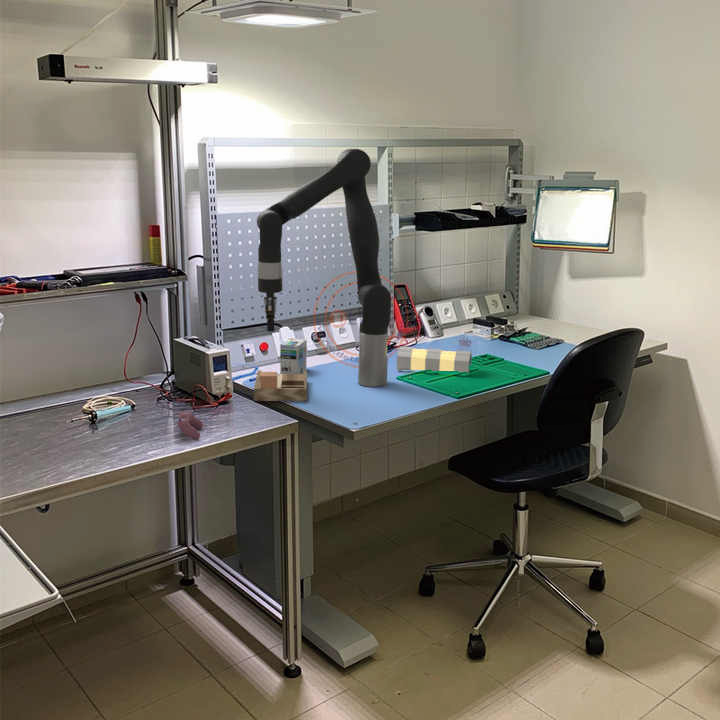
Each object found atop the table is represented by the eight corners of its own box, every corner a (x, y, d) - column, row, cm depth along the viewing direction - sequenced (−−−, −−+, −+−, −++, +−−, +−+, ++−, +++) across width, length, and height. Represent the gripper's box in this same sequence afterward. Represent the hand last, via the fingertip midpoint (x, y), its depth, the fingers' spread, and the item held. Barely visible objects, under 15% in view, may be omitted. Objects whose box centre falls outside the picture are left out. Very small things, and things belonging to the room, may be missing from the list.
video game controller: (189, 433, 219) (177, 411, 218) (204, 425, 219) (192, 403, 217) (185, 445, 210) (172, 422, 208) (201, 438, 210) (188, 415, 208)
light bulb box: (298, 376, 272) (298, 345, 270) (279, 375, 273) (279, 344, 271) (307, 369, 282) (307, 339, 280) (288, 367, 284) (288, 337, 281)
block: (277, 387, 250) (277, 371, 249) (276, 392, 245) (276, 376, 244) (261, 387, 250) (260, 371, 248) (260, 391, 245) (260, 375, 243)
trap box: (306, 381, 267) (306, 370, 266) (306, 400, 245) (307, 389, 244) (257, 381, 265) (257, 370, 265) (253, 400, 244) (253, 389, 243)
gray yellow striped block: (470, 371, 286) (473, 334, 283) (468, 378, 277) (470, 341, 273) (401, 365, 291) (402, 330, 288) (396, 372, 282) (397, 336, 278)
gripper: (281, 279, 243) (282, 335, 247) (282, 273, 256) (283, 326, 260) (256, 279, 243) (257, 335, 247) (258, 273, 255) (259, 326, 260)
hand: (270, 331), depth 254 cm, fingers closed
